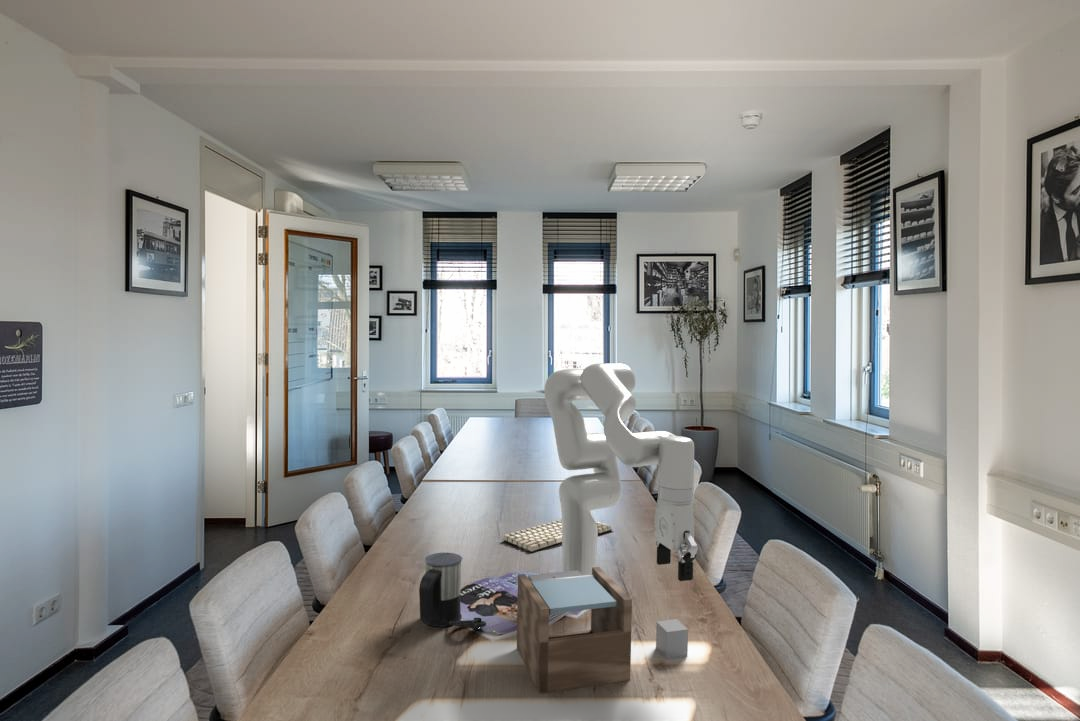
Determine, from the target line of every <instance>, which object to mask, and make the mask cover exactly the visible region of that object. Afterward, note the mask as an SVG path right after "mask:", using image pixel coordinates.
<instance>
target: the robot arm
mask: <svg viewBox="0 0 1080 721" xmlns="http://www.w3.org/2000/svg"><path fill="white" fill-rule="evenodd" d="M635 386H636V377H635V374H634V372H633V370H632V369H631V368H630V367H629V366H628V365H626V364H624V363H620V362H618V363H616V362H615V363H613V362H612V363H611V362H610V363H609V362H608V363H606V362H605V363H593V364H590V365H588V366H586V367H585V368H583V369H581V368H580V369H579V368H578V369H577V368H576V369H575V368H572V369H571V368H570V369H561V370H558V371H553V372H552V373H551V374H550V375H548V377H547V379H546V381H545V385H544V400H545V404H546V407H547V409H548V413H549V415H550V418H551V421H552V424H553V431H554V437H555V444H556V449H557V454H558V456H557V457H558V459H559V460H558V461H559V463H560V465H561V467H562V469H565V470H567V471H577V470H578V471H579V470H580V471H581V470H589V469H591V470H593V471H594V472H593V473H584V474H576V475H572V476H569V477H567V478H565V479H563V481H562V482H560V485H559V488H558V496H559V497H558V498H559V504H560V509H561V519H562V546H561V571H560V572H566V571H577V570H578V571H579V572H580V573H581V574H582V575H583V576H584V575H592V567H598V538H599V537H598V529H597V524H596V522H597V521H596V520H595V519H594V517H593V516H592V514H591V512H592V511H595V510H600V509H605V508H612V507H615V506H617V505H618V504H619V502H620V501H621V498H622V494H623V492H622V490H623V489H622V488H623V487H622V482H621V476H620V471H619V470H620V469H619V466H618V460H619V461H620V462H621V463H622V464H624V465H625V466H627V467H631V468H637V467H645V466H646V467H647V466H655V465H656V466H657V465H658V477H657V480H658V481H657V482H658V484H657V486H658V487H657V490H658V492H657V500H656V505H655V514H654V523H653V525H654V529H653V532H654V533H653V537H654V539H655V545H656V564H657V565H658V566H661V565H670V564H671V560H672V559H671V556H672V553H671V552H676V553H677V554H678V558H679V561H678V564H677V565H678V566H677V580H678V581H679V582H685V581H692V580H693V579H694V563H695V561H696V560H695V559H696V558H697V552H698V549H699V546H698V544H697V543H696V541H695V521H694V520H695V519H694V518H695V517H694V506H693V503H694V484H695V482H694V479H695V477H694V476H695V442H694V441H693V440H692V439H691V438H689V437H686V436H681V435H675V434H673V433H672V432H670V431H665V430H656V431H655V430H654V431H652V430H651V431H641V432H639V431H638V432H632V431H631V430H629V428H628V427H627V426H626V425H625V424H624V423H623V422H625V421H626V420H628V419H629V418H630V416H632V415H633V413H634V412H635V409H636V406H637V401H636V398H635V397H634V395H633V394H632V391H634V389H635ZM574 401H592V402H593V403H594V405H595V406H596V407H597V408H598V410H599V411H600V412H601V413H602V415H603V416H604V421H603V422H604V423H603V433H598V432H594V433H588V432H587V430H586V426H585V425H586V424H585V420H584V417H583V414H582V413H581V412H580V410H579V409H578V408H577V406H576V405H574V403H573V402H574ZM617 459H618V460H617ZM595 521H596V522H595ZM684 552H686V553H685V554H684Z"/></svg>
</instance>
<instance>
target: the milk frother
mask: <svg viewBox="0 0 1080 721" xmlns="http://www.w3.org/2000/svg"><path fill="white" fill-rule="evenodd" d="M423 561H424V562H425V573H424V574H423V575H422V578H421V579H420V583H419V586H418V587H419V588H418V592H419V594H418V595H419V619H420V621H421V622H423V623H425V624H427V625H429V626H433V627H441V628H443V627H449V626H455V627H459V628H460V627H462V628H472V629H473V630H475V629H478V628H479V627H481V628H485V627H486V626H487V622H485V621H483V620H482V618H481V617H474V618H473V619H466V620H462V612H461V611H462V610H461V607H462V606H461V590H462V589H461V588H462V587H461V586H462V585H461V584H462V583H461V582H462V579H461V577H462V561H463V557H462V556H461V555H460V554H458V553H455V552H454V553H453V552H436V553H432V554H429V555H427V556H426V557H424V560H423ZM460 619H461V620H460Z"/></svg>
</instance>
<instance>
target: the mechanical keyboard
mask: <svg viewBox="0 0 1080 721" xmlns="http://www.w3.org/2000/svg"><path fill="white" fill-rule="evenodd" d="M595 522H596V524H597V529H598V538H599V537H602V536H605V535H609V534H611V533H614V530H613V528H612V525H611V524H606V523H601V521H596V520H595ZM502 543H503V544H506V545H509V546H510V547H513V548H515V549H517V550H522V551H525V552H529V553H536V552H542V551H548V550H553V549H556V548H559V547H562V518H561V519H558V520H553V521H551V522H546V523H543V524H539V525H535V526H532V527H531V526H530V527H528V528H525V529H521V530H516V531H515V532H509V533H506V534H504V535H503V538H502Z"/></svg>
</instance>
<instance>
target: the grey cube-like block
mask: <svg viewBox="0 0 1080 721" xmlns="http://www.w3.org/2000/svg"><path fill="white" fill-rule="evenodd" d="M655 627H656V629H655V630H656V632H655V637H656V638H655V649H656V650H657V651H659V653H660V654H661V655H662V656H663V658H665V659H666V660H670V659H676V658H677V659H678V658H685V657H688V651H689V650H688V647H689V646H688V642H689V640H688V638H689V629H688V627H686V626H685V625H684V624H683V623H682V622H681V621H680V620H679V619H678V618H676V619H675V618H674V619H666V620H659V621H658V620H657V621H656V626H655Z"/></svg>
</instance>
